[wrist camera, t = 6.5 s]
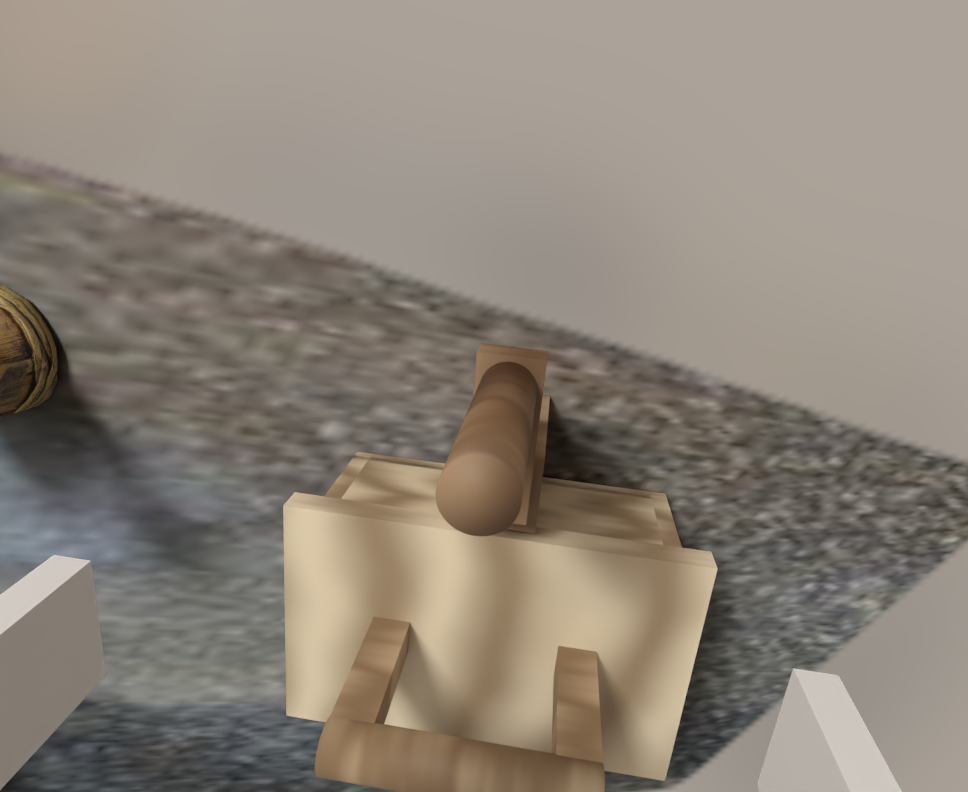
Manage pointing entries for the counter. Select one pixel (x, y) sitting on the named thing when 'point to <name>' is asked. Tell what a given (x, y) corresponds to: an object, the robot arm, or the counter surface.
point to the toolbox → (548, 501)
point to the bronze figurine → (24, 355)
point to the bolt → (495, 443)
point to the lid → (485, 649)
